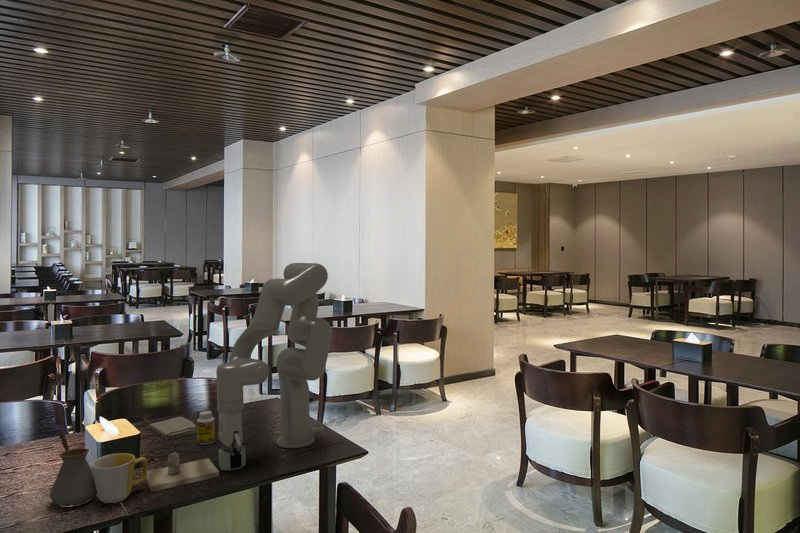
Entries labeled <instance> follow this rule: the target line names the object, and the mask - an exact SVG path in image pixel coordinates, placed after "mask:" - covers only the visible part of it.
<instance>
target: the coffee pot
mask: <svg viewBox="0 0 800 533" xmlns="http://www.w3.org/2000/svg"><path fill="white" fill-rule="evenodd" d="M55 435H56V438H59V439H61V445H62V446H63V449H64V451H63V452H61V453H60V454H59V458H60V459H61V460H62V464H61V466H60V469H59V471H58V473H57V476H56V479H55V481H54V483H53V486H52V488H51V491H50V493H49V498H50V500H51V502H53V503H54V504H56V505H58V506H59V505H62V506H70V505H77V504H81V503H84V502H86V501H88V500H90V499H91V498H92V499H93V498H94V497H96V495H97V490H96V486H95V481H94V476H93V472H92V467H91V465H90V464H89V462H88V460H87V459H86V458H87V455H88V454H89V451H90V449H89V448H73V449H70V446H69V444H68V440H67V439H66V432H65V431H62V430H60V431H59V432H57V433H56V434H55ZM58 435H60V436H58Z"/></svg>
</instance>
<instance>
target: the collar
mask: <svg viewBox="0 0 800 533" xmlns="http://www.w3.org/2000/svg"><path fill="white" fill-rule="evenodd" d="M241 445H242V444H241ZM234 448H236V446H234V447H233V451H234ZM217 453H218V467H219V468H220V470H222V471H229V472H230V471H235V470H239V469H242V468H243V467H244V466H246V464H247V463H246V447H245V446H244V445H242V446H241V457H242V466H241V467H238V468H233V469H231V468H230V455H231V450H230V446H229V447H226V446H222V447H220V448H219V449H218V452H217Z"/></svg>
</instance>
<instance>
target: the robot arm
mask: <svg viewBox="0 0 800 533" xmlns="http://www.w3.org/2000/svg"><path fill="white" fill-rule="evenodd" d="M328 275H329V272H328V271H327V269H326V267H325V266H324V265H323V264H320V263H316V262H314V263H313V262H293V263H292V262H291V263H290V264H288V265H286V266H285V267H284V270H283V278H271V279H268V280H266V281H265V283H264V284H263V286H262V289H261V292H260V294H259V298H258V301H257V305H256V308H255V310H254V311H255V312H254V313H253V317H252V320H251V323H250V324H249V325H248V326H247V327H246V328H245V330H244V331H243V332H242V333H241V334H240V336H239V337H238V338H237V340H236V341H235V343H234V344H233V347H232V350H231V353H230V355H229V360H228V362H225V363H220V364H218V365H217V367H216V371H215V372H216V397H217V398H216V399H217V400H216V402H217V405H216V407H217V408H216V409H217V412H218V428H217V429H218V432H217V433H218V434H217V436H218V439H219V440H220V442H221V443H222V447H224V446H226V447H229V446H230V450H231V455H230V468H231V469H233V468H238V467H241V466H242V457H241V446H242V444H243V441H244V440H243V439H244V430H243V416H242V411H243V410H244V409H245V407H244V403H245V401H244V386H256V385H260V384H263V383H264V382H265V381H266V380H268V378H269V377H270V372H271V371H270V366H269V365H268V364H267V363H266V362H265V361H263V360H260V359H256V358H251V357H252V354H253V351H254V350H255V348H256V347H257V346H258V345H259V343H260V342H261V341H263V340H264V339H265V338H268V337H270V336H271V335H273V334H275V333H277V332H278V330H279V328H280V324H281V322H282V321H281V320H282V316H283V314H284V311H285V308H286V306H288V307H292V308H291V309H292V310H291V314H290V318H289V322H288V327H287V338H288V340H289V341H290V342H292V343H293V344H297V345H301V346H305V347H304V348H305V349H304V348H299V347H287V348H284V349H282V350H281V351H280V352H279V353H278V355H277V357H276V372H277V376H278V380H279V399H280V401H279V403H280V404H279V405H280V407H279V408H280V436H278V437H277V439H276V442H275V443H276V445H277V446H279V447H281V448H286V449H299V448H305V447H308V446H310V445H312V444H314V443H315V440H316V439H315V438H316V437H315V435H316V434H320V433H324V430H325V429H324V427H323V426H318V427H317V426H316V425H314V426H311V417H310V416H311V414H310V412H311V411H310V386H309V383H308V381H311V382H312V381H317V380H318V379H320V378H321V376H322V375H323V373H324V372H325V369H326V365H327V362H328V356H329V352H330V347H331V342H332V341H331V340H332V337H333V336H332V335H333V334H332V333H333V332H332V328H331V325H330V322H328V321H327V319H324V318H322V317H318V311H319V305H320V304H319V302H320V301H319V296H318V293H317V292H319V291H320V290H321V289H322V288H324V286H325V285H326V284H327V281H328V278H329V276H328ZM234 446H236V448H234V451H233V447H234Z"/></svg>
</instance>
